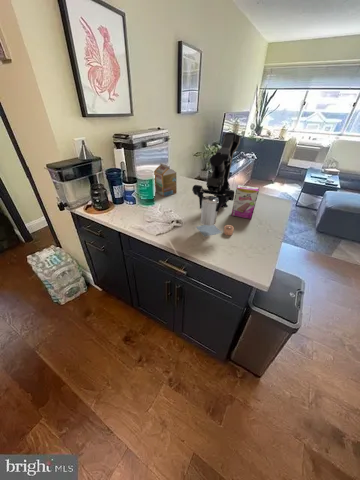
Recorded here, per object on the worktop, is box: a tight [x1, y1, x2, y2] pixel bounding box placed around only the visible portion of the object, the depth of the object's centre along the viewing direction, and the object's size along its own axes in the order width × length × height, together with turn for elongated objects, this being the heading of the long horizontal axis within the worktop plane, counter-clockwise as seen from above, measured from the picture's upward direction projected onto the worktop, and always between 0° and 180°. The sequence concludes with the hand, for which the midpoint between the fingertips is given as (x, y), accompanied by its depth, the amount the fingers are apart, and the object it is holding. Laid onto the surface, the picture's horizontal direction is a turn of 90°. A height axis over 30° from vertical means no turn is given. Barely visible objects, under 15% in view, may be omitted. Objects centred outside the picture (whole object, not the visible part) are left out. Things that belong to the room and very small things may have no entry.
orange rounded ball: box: [223, 224, 235, 236], centre depth 95 cm, size 4×4×4 cm
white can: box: [200, 195, 219, 226], centre depth 91 cm, size 7×7×12 cm
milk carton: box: [153, 162, 178, 197], centre depth 131 cm, size 11×11×19 cm
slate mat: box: [195, 224, 223, 238], centre depth 98 cm, size 10×10×1 cm
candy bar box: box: [231, 184, 260, 220], centre depth 105 cm, size 11×5×16 cm, turn 71°
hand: (208, 210), depth 89 cm, fingers closed on white can, 7 cm apart
